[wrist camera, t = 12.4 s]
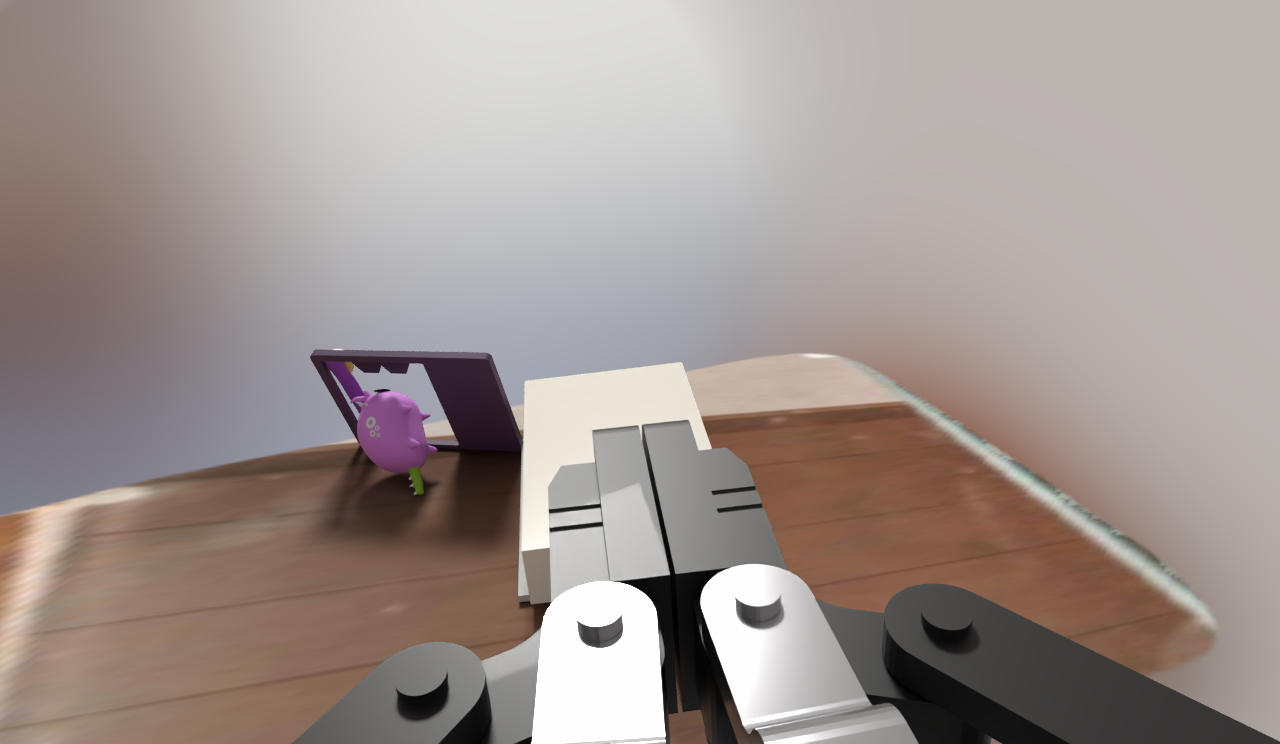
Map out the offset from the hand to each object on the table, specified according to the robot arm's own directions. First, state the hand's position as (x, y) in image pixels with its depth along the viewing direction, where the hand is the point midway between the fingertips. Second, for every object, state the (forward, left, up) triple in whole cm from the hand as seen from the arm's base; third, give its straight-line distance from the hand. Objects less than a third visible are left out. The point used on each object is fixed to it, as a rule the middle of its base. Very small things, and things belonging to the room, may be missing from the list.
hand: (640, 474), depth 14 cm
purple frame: (-14, +25, -16) cm, 32 cm away
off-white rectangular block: (-2, +15, -14) cm, 20 cm away
